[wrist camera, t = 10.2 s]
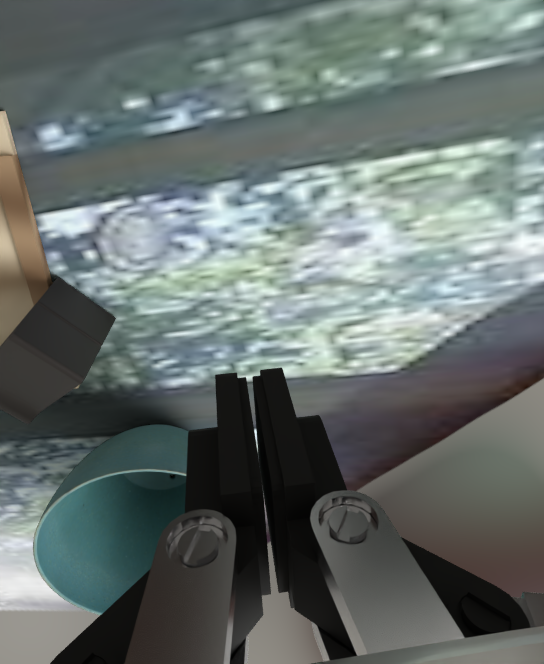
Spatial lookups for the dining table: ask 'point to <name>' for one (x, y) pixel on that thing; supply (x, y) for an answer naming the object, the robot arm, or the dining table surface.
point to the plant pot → (112, 516)
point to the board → (17, 241)
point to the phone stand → (50, 350)
